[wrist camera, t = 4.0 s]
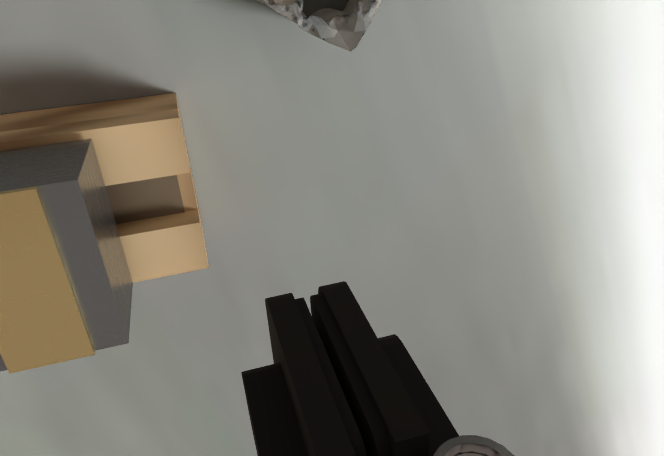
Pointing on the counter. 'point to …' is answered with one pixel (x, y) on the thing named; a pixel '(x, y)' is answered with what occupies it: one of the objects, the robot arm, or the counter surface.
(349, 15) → the egg carton
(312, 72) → the counter surface
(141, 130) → the rail
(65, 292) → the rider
